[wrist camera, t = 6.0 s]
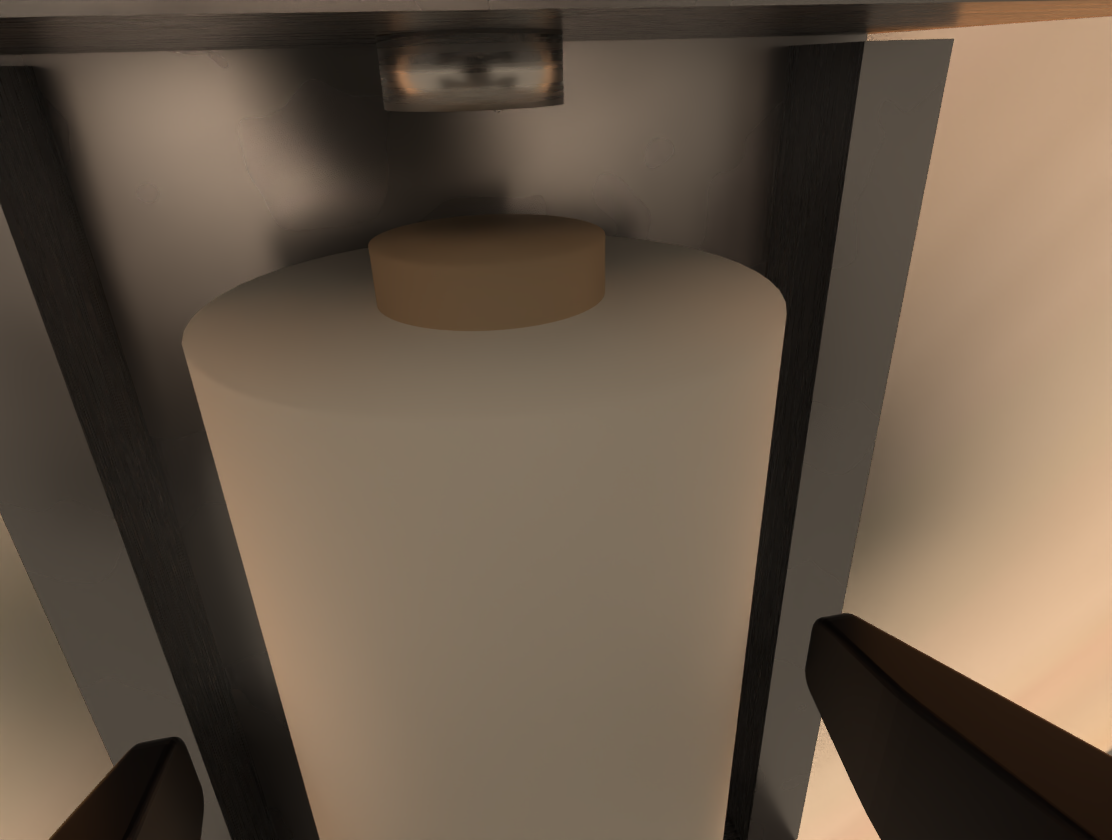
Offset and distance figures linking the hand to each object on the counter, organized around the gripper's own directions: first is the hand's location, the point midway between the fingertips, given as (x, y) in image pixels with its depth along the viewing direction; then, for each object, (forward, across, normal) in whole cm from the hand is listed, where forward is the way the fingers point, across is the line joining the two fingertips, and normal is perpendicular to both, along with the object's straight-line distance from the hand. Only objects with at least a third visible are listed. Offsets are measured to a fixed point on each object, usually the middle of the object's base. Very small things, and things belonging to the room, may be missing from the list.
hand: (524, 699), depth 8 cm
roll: (+3, 0, 0) cm, 3 cm away
